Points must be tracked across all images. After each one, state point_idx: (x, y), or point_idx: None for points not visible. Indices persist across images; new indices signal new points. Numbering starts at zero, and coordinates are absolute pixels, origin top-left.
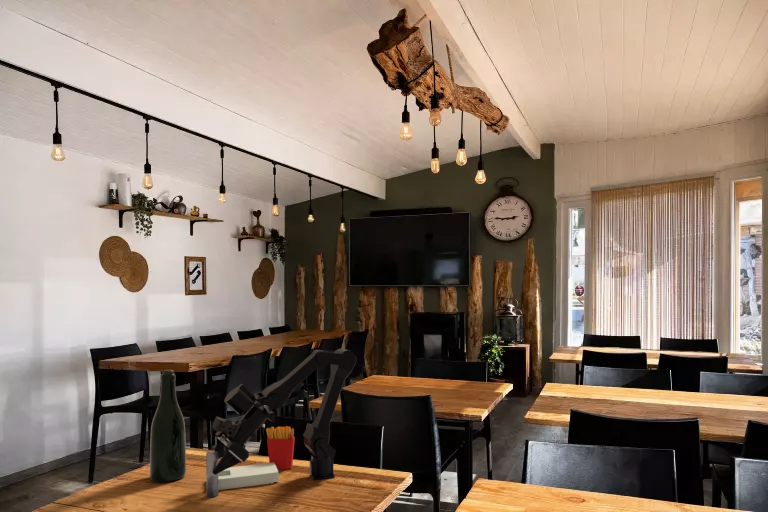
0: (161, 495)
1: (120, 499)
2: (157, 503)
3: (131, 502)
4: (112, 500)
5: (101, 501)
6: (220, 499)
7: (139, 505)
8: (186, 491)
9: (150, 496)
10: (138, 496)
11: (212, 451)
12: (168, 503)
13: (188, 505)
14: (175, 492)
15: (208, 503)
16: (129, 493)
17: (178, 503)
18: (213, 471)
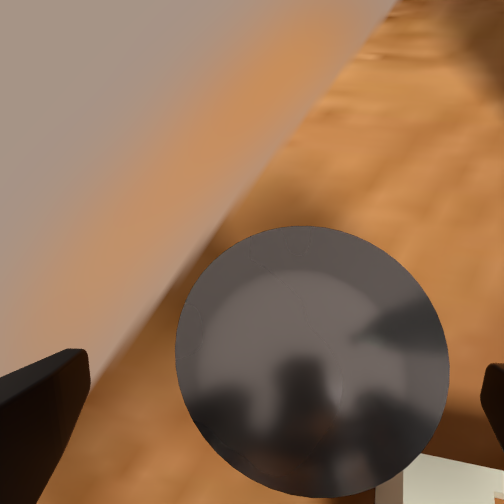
0: (417, 178)
1: (431, 55)
2: (306, 152)
3: (374, 80)
4: (430, 37)
5: (434, 14)
6: (161, 468)
7: (320, 98)
8: (434, 294)
9: (423, 140)
10: (443, 104)
11: (371, 356)
12: (278, 189)
13: (187, 264)
14: (440, 240)
15: (141, 371)
16: (500, 82)
17: (250, 227)
18: (58, 356)
